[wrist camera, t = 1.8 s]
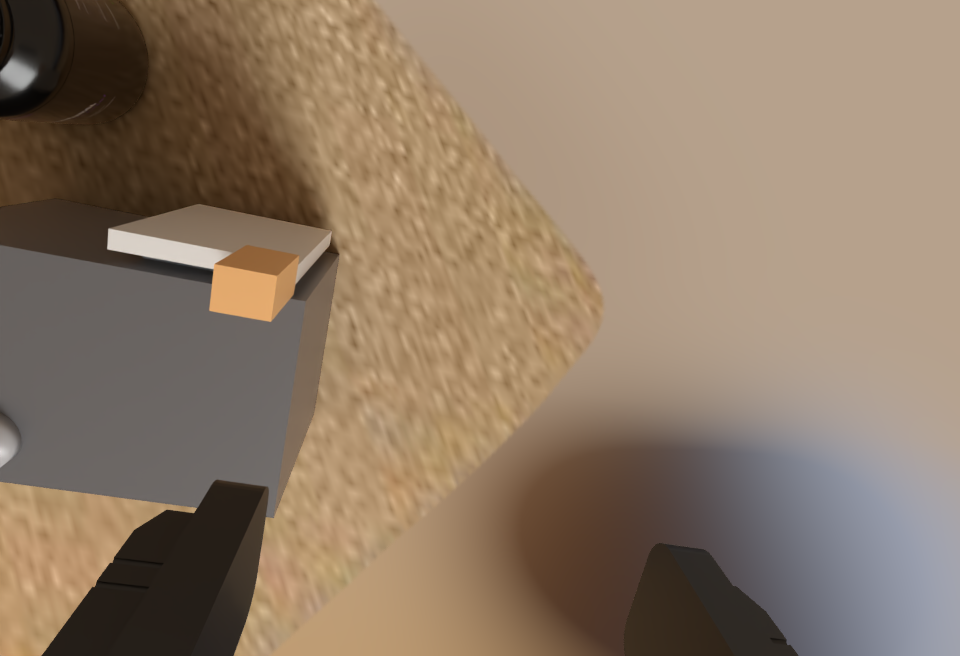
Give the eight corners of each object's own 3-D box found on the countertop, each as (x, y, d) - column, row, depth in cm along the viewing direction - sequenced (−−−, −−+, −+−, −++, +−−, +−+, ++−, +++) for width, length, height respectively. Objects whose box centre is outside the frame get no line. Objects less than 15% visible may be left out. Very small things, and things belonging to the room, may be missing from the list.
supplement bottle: (106, 154, 33) (-61, 159, 21) (-18, 61, 31) (-274, 13, 20) (181, 47, 32) (47, -7, 20) (57, -55, 30) (-167, -178, 18)
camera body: (23, 186, 33) (-184, 209, 22) (340, 249, 35) (303, 298, 24) (18, 367, 35) (-168, 471, 24) (313, 414, 38) (269, 528, 27)
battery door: (199, 196, 33) (48, 232, 19) (333, 223, 34) (277, 276, 20) (196, 226, 33) (46, 281, 20) (328, 252, 34) (271, 322, 21)
